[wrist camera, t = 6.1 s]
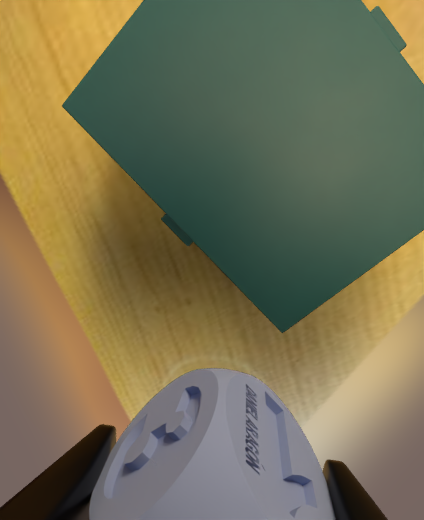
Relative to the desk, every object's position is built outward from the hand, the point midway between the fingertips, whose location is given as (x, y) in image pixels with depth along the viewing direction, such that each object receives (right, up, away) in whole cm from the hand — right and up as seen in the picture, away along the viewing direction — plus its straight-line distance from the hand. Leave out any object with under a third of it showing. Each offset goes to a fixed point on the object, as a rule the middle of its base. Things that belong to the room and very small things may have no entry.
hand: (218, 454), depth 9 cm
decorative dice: (0, 0, +1) cm, 1 cm away
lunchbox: (+2, +11, +8) cm, 14 cm away
